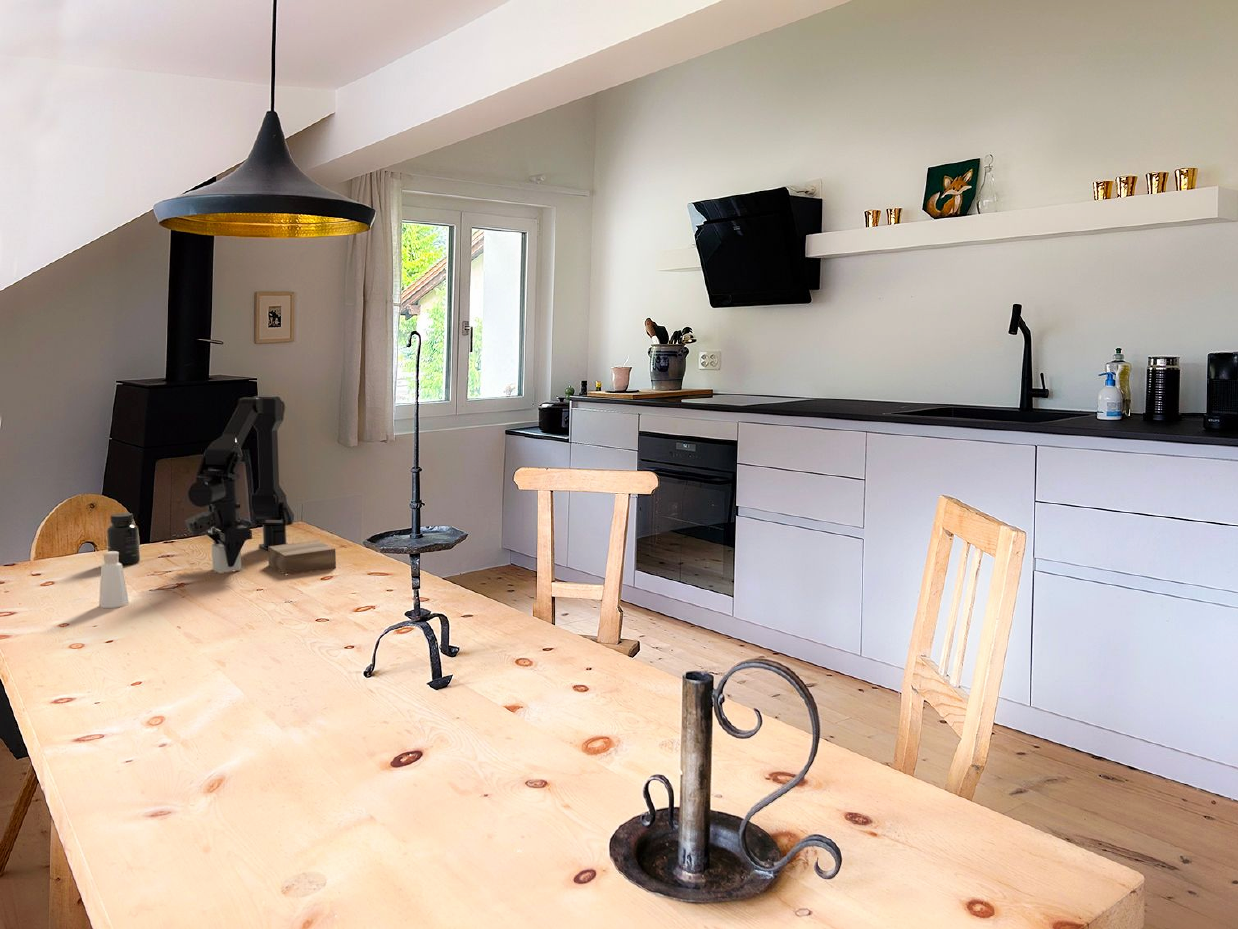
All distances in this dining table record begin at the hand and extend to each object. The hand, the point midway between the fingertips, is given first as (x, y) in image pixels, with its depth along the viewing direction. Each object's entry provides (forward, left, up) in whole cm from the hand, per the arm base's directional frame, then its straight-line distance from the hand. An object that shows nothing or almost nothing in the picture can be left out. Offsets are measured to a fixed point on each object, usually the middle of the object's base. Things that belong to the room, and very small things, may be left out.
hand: (226, 564), depth 224 cm
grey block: (0, 0, -1) cm, 1 cm away
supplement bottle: (-22, -17, -1) cm, 28 cm away
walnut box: (+8, +15, -2) cm, 17 cm away
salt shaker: (+16, -28, -1) cm, 32 cm away
